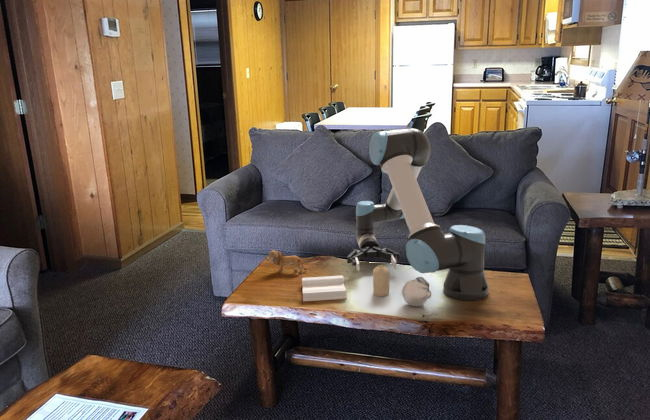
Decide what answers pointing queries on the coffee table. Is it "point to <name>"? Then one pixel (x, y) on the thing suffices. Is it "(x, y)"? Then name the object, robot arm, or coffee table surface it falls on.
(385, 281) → the candle
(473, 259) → the robot arm
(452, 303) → the coffee table surface
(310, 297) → the tray
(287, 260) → the lion figurine
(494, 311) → the coffee table surface
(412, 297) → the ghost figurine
